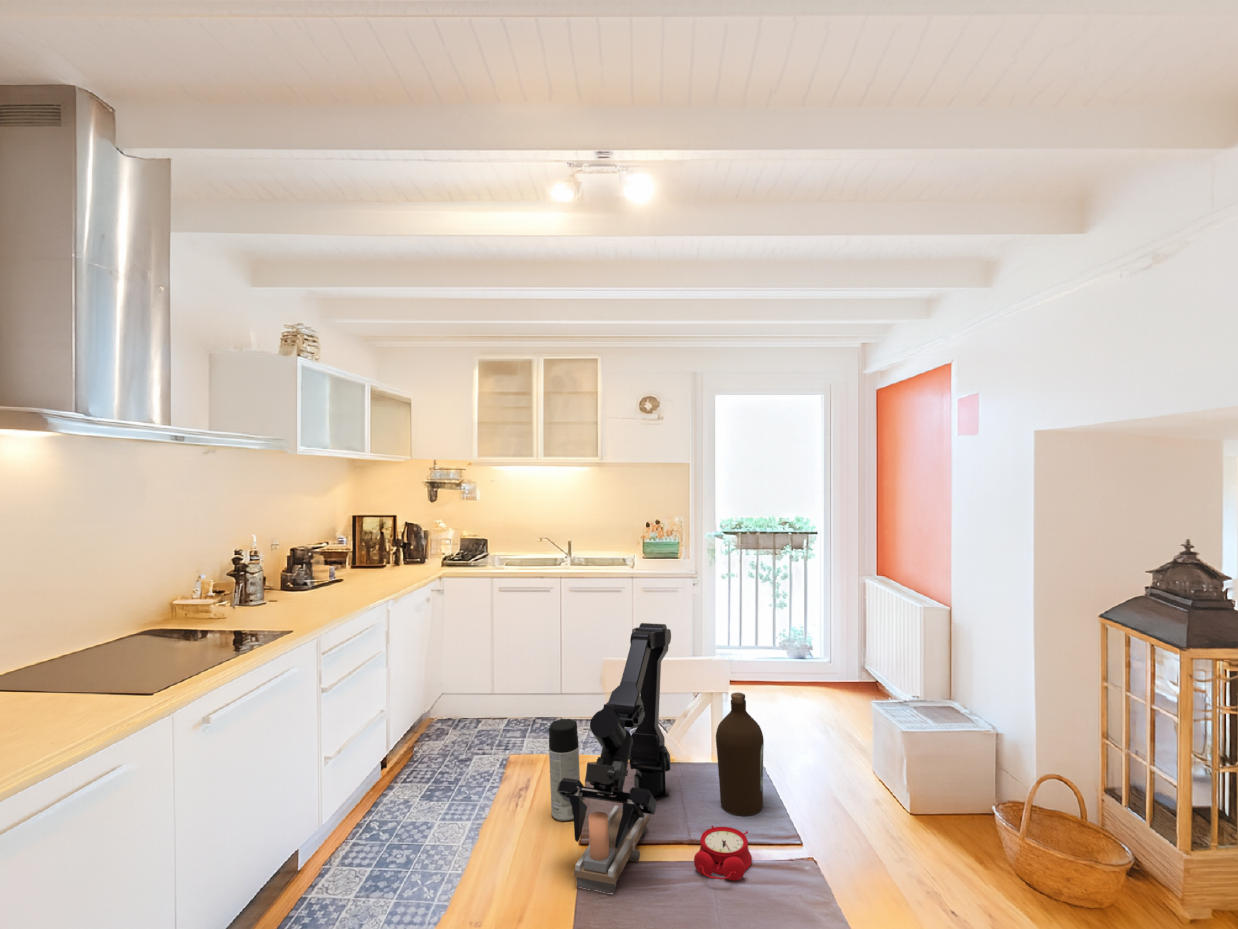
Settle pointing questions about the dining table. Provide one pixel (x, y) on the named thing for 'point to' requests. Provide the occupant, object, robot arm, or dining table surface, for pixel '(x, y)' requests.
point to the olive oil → (740, 760)
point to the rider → (599, 844)
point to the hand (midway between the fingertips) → (596, 844)
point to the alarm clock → (723, 853)
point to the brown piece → (622, 855)
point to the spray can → (562, 763)
